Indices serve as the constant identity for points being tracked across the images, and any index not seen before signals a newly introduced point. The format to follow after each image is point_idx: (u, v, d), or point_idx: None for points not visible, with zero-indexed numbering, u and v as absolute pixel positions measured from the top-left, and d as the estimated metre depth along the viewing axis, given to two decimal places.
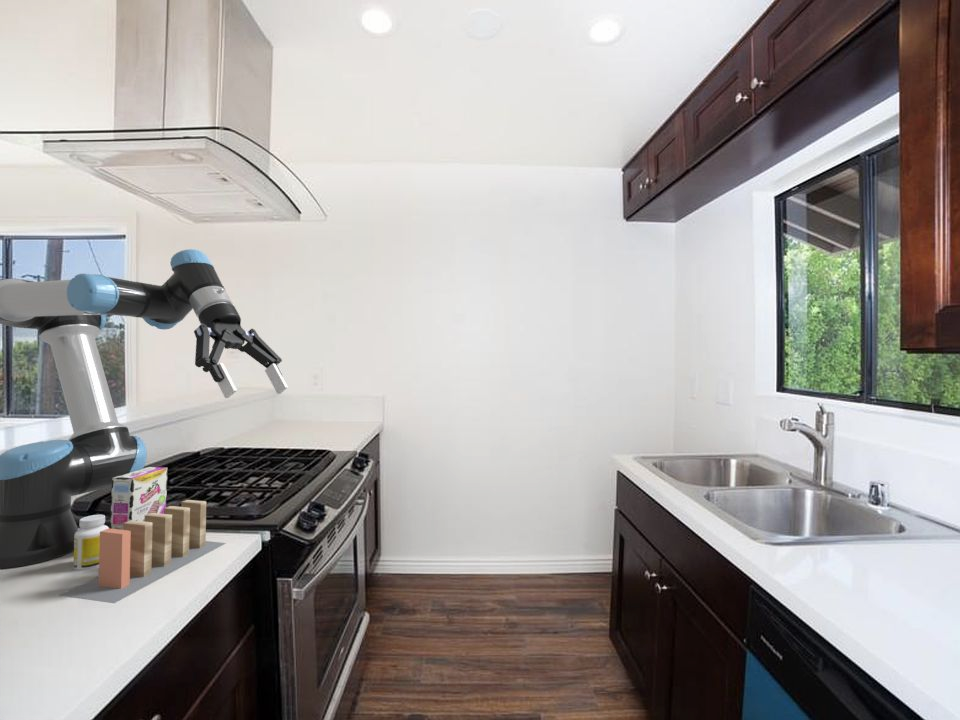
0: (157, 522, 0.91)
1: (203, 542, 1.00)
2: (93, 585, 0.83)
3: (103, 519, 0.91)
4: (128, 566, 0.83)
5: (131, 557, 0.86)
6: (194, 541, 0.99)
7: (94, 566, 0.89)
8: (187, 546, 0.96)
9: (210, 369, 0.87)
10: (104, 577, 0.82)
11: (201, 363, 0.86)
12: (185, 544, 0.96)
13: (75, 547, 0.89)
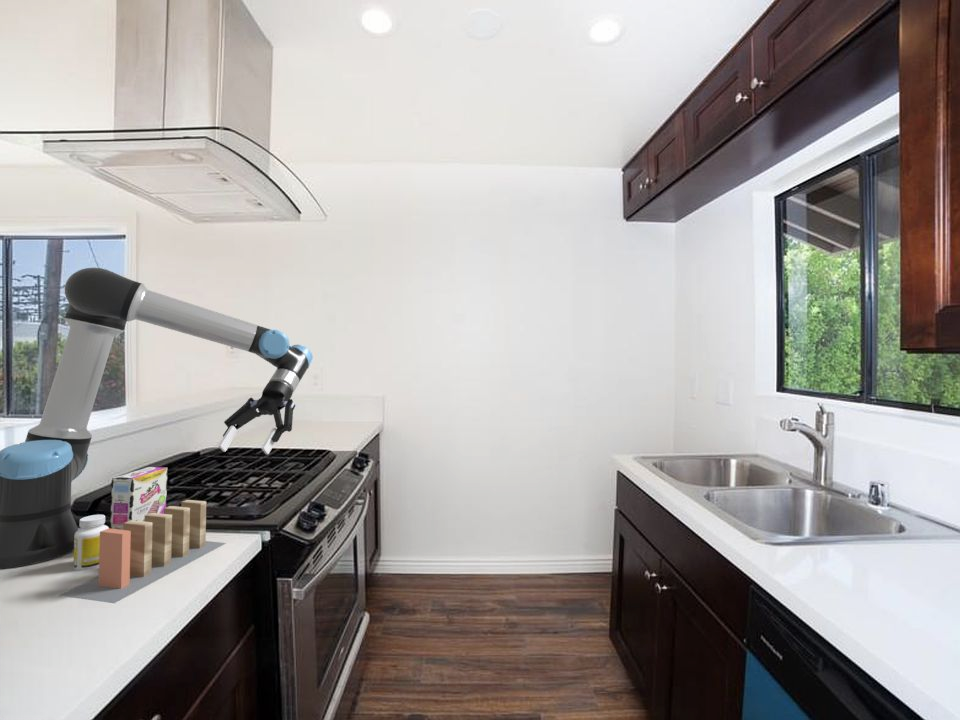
0: (157, 522, 0.91)
1: (203, 542, 1.00)
2: (93, 585, 0.83)
3: (103, 519, 0.91)
4: (128, 566, 0.83)
5: (131, 557, 0.86)
6: (194, 541, 0.99)
7: (94, 566, 0.89)
8: (187, 546, 0.96)
9: (280, 431, 1.18)
10: (104, 577, 0.82)
11: (287, 428, 1.19)
12: (185, 544, 0.96)
13: (75, 547, 0.89)
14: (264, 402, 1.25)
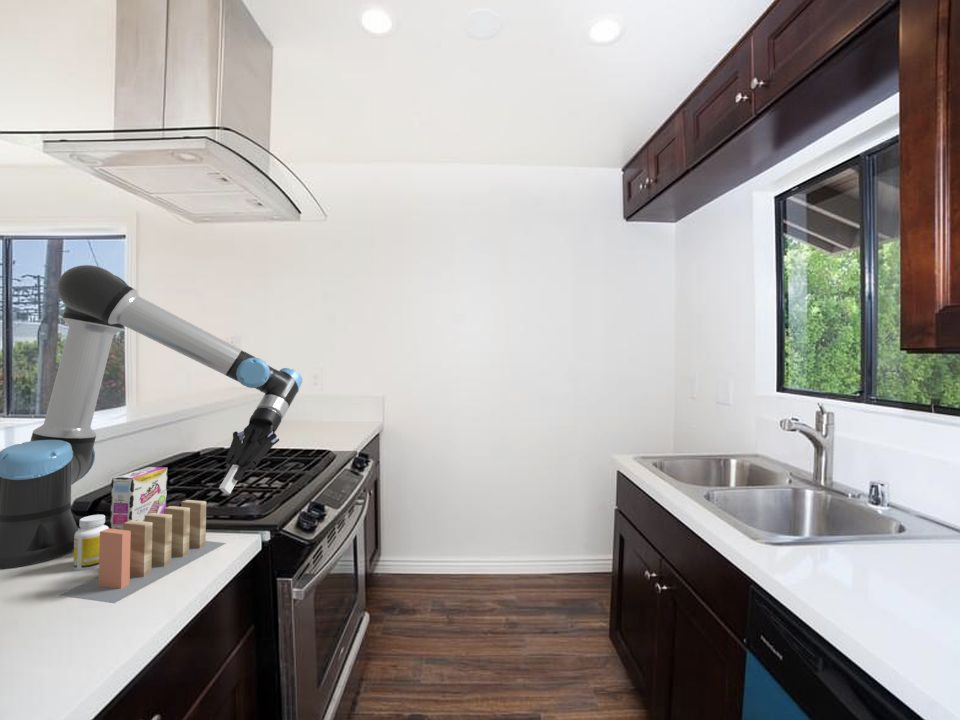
0: (157, 522, 0.91)
1: (203, 542, 1.00)
2: (93, 585, 0.83)
3: (103, 519, 0.91)
4: (128, 566, 0.83)
5: (131, 557, 0.86)
6: (194, 541, 0.99)
7: (94, 566, 0.89)
8: (187, 546, 0.96)
9: (243, 469, 1.12)
10: (104, 577, 0.82)
11: (251, 465, 1.13)
12: (185, 544, 0.96)
13: (75, 547, 0.89)
14: (252, 430, 1.20)
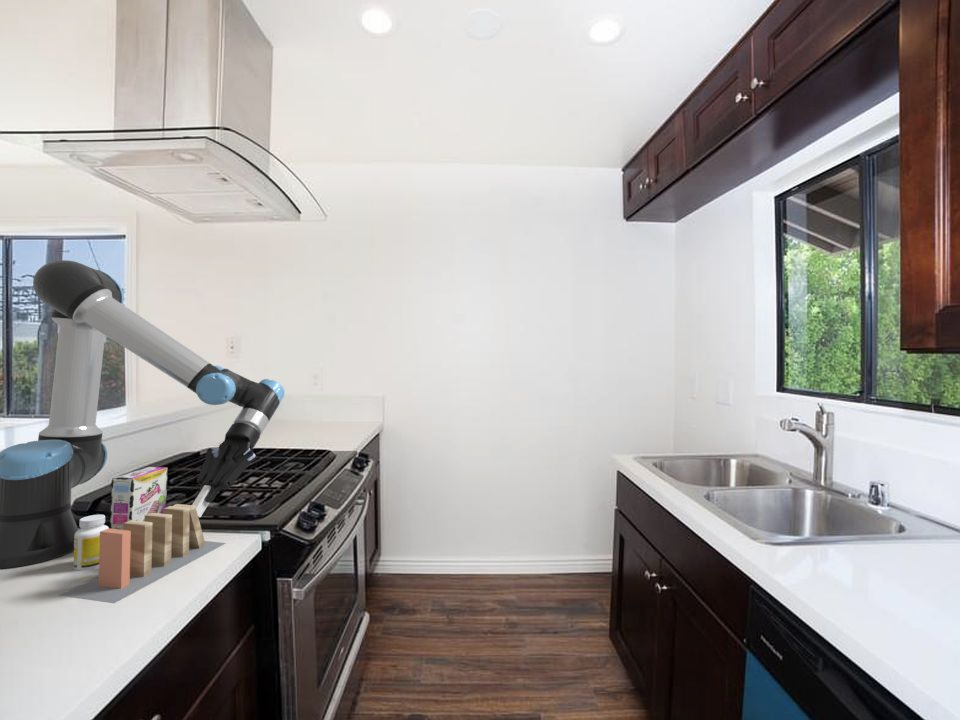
0: (157, 522, 0.91)
1: (202, 541, 1.00)
2: (93, 585, 0.83)
3: (103, 519, 0.91)
4: (128, 566, 0.83)
5: (131, 557, 0.86)
6: (192, 542, 0.99)
7: (94, 566, 0.89)
8: (187, 546, 0.96)
9: (215, 490, 1.04)
10: (104, 577, 0.82)
11: (224, 486, 1.05)
12: (185, 544, 0.95)
13: (75, 547, 0.89)
14: (228, 447, 1.11)
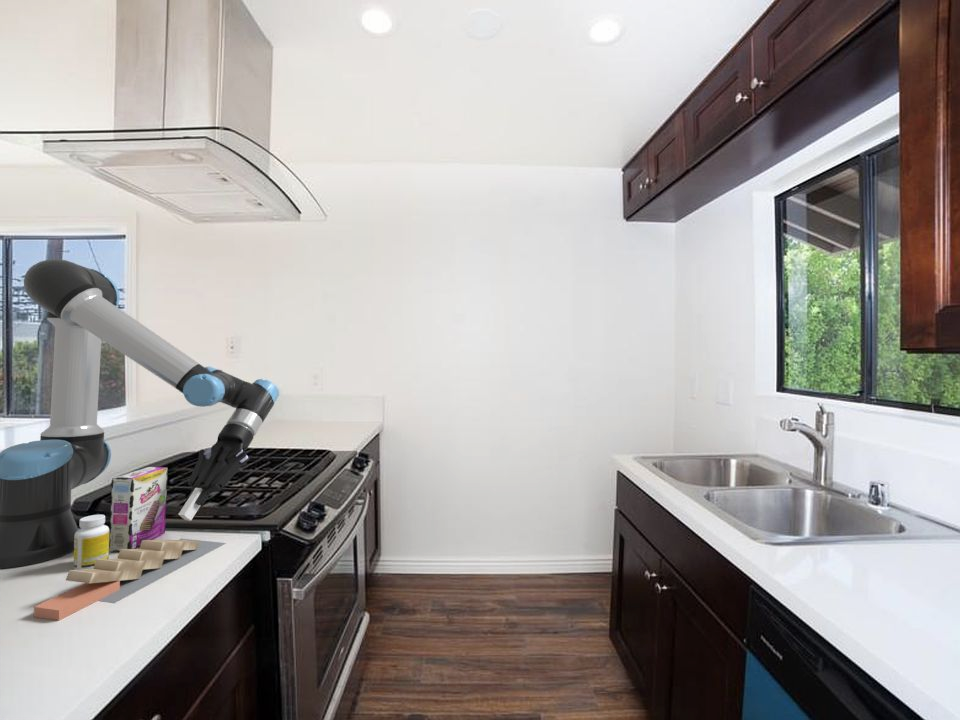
0: None
1: (195, 544, 0.98)
2: None
3: (103, 519, 0.91)
4: (101, 590, 0.78)
5: None
6: None
7: None
8: (175, 552, 0.93)
9: (207, 492, 1.02)
10: None
11: (216, 488, 1.03)
12: (172, 555, 0.92)
13: (75, 547, 0.89)
14: (220, 448, 1.09)
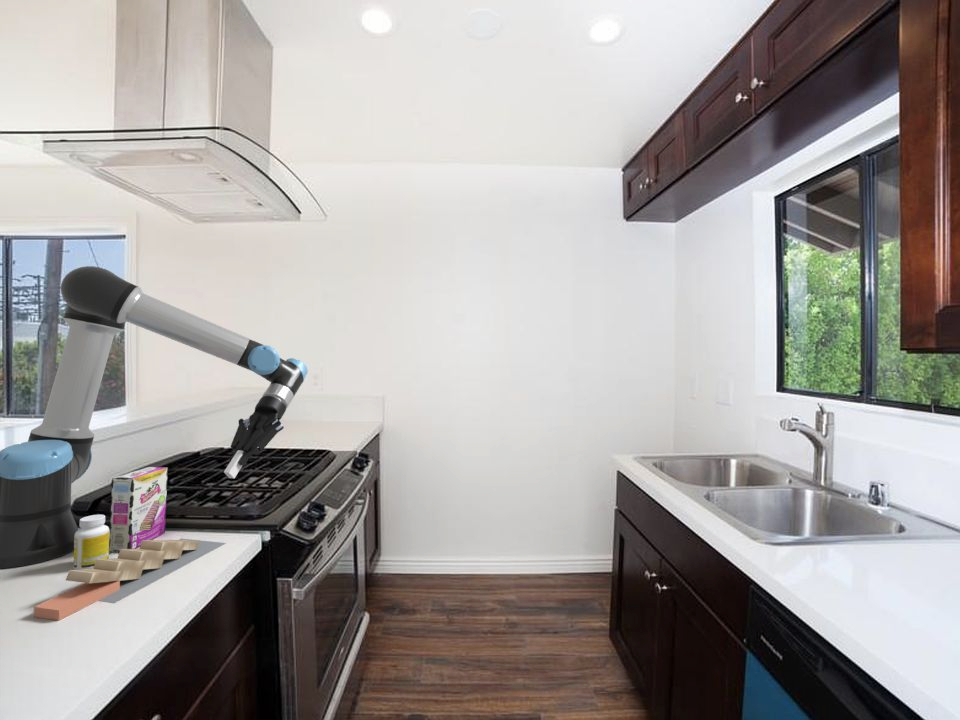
0: None
1: (195, 544, 0.98)
2: None
3: (103, 519, 0.91)
4: (101, 590, 0.78)
5: None
6: None
7: None
8: (175, 552, 0.93)
9: (247, 454, 1.15)
10: None
11: (255, 451, 1.16)
12: (172, 555, 0.92)
13: (75, 547, 0.89)
14: (258, 417, 1.22)
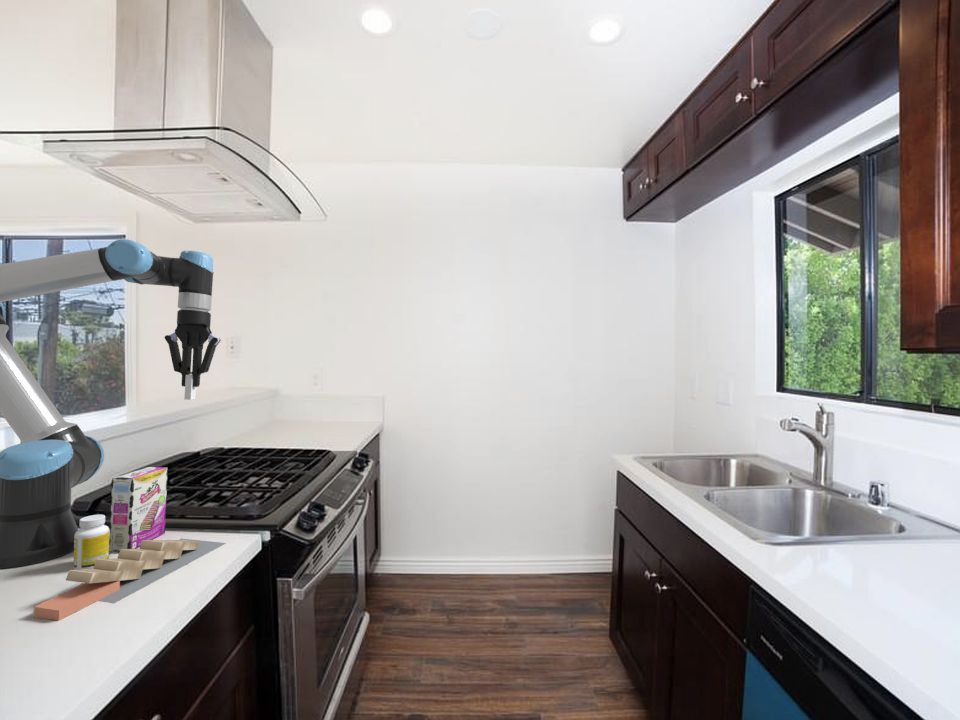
0: None
1: (195, 544, 0.98)
2: None
3: (103, 519, 0.91)
4: (101, 590, 0.78)
5: None
6: None
7: None
8: (175, 552, 0.93)
9: (198, 376, 1.18)
10: None
11: None
12: (172, 555, 0.92)
13: (75, 547, 0.89)
14: (187, 334, 1.17)
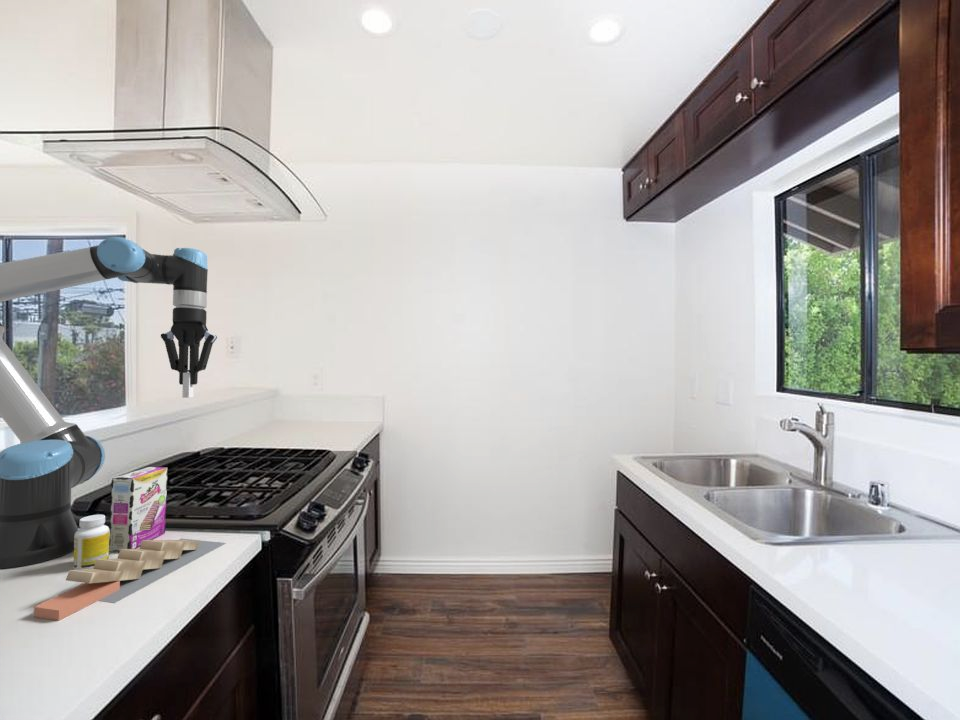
0: None
1: (195, 544, 0.98)
2: None
3: (103, 519, 0.91)
4: (101, 590, 0.78)
5: None
6: None
7: None
8: (175, 552, 0.93)
9: (195, 374, 1.18)
10: None
11: (202, 369, 1.18)
12: (172, 555, 0.92)
13: (75, 547, 0.89)
14: (183, 332, 1.16)
